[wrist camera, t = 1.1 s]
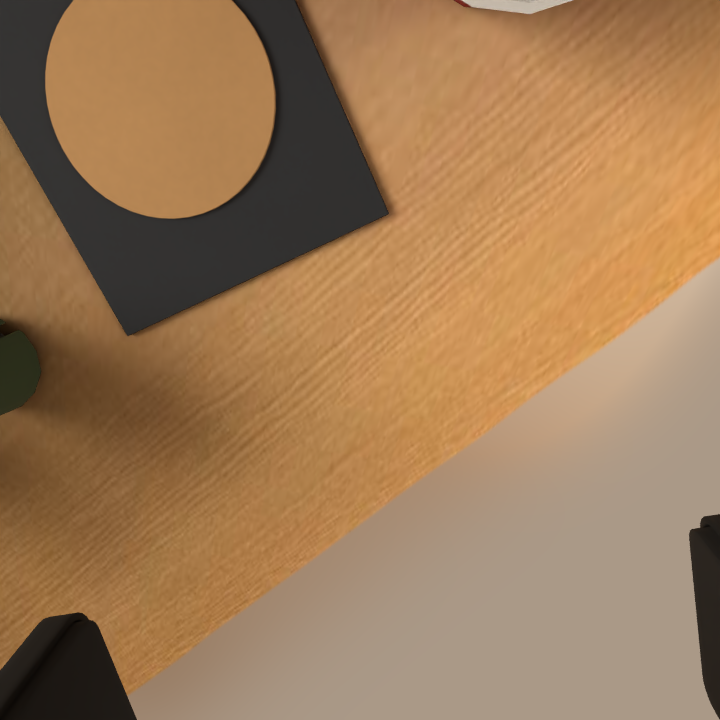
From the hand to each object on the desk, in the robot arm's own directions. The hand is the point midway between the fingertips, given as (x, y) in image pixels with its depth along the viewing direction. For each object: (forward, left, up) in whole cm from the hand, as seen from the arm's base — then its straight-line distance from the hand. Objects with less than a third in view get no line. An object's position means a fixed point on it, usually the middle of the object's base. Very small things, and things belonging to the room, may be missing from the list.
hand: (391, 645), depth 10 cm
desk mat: (-15, -8, -29) cm, 34 cm away
